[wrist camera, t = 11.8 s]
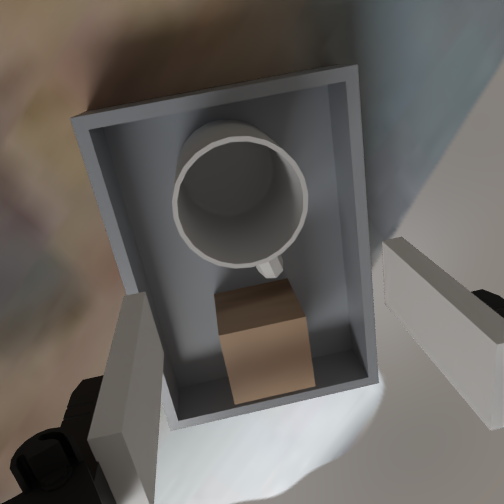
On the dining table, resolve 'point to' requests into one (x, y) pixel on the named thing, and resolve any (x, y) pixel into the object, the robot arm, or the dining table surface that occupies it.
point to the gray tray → (225, 279)
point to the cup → (238, 197)
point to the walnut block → (264, 340)
